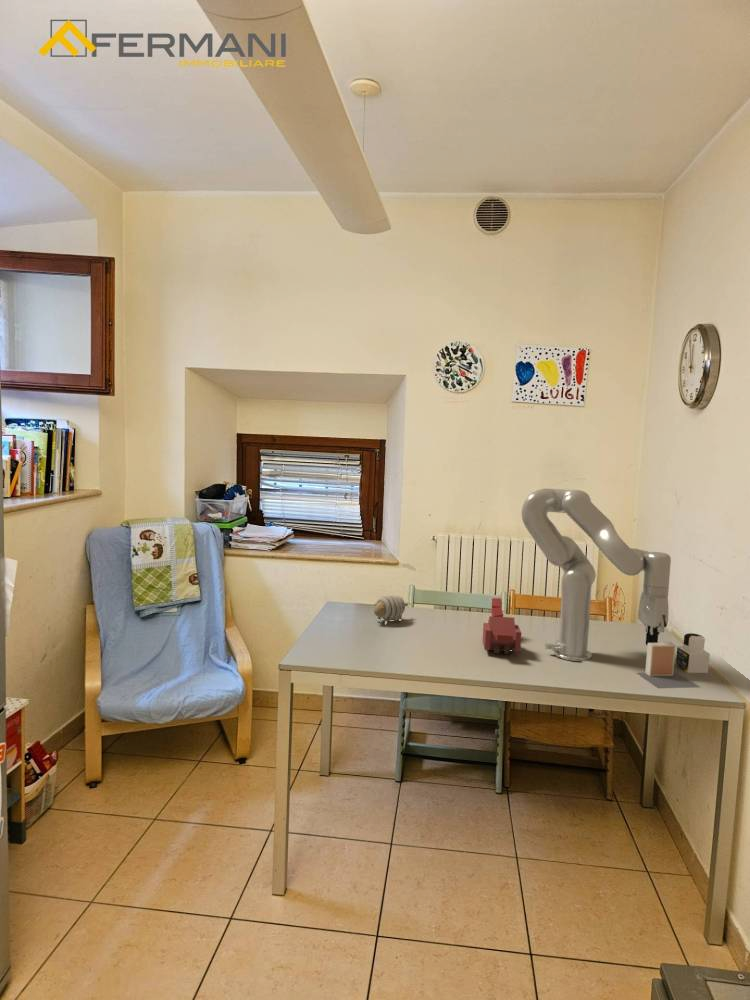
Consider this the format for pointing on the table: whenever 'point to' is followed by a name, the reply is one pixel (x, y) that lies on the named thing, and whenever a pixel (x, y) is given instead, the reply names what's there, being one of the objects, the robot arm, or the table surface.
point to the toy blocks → (501, 631)
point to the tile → (660, 659)
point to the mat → (669, 681)
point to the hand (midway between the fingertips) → (651, 645)
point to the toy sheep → (390, 607)
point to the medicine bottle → (693, 654)
